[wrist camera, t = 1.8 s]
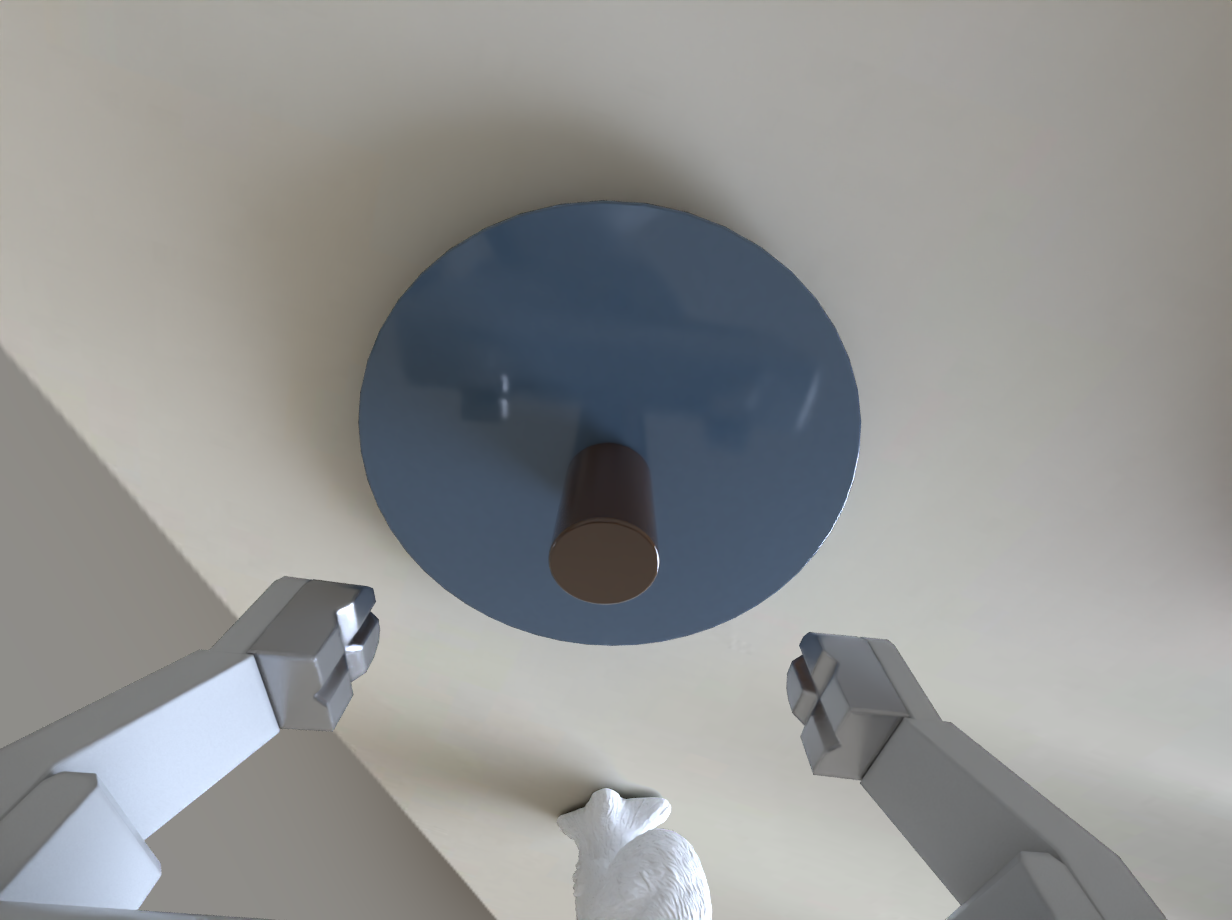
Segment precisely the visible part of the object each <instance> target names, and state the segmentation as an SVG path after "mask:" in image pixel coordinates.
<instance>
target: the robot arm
mask: <svg viewBox="0 0 1232 920" xmlns="http://www.w3.org/2000/svg"><path fill="white" fill-rule="evenodd" d="M375 603H376V600H375V595H374V590H373V588H371V587H368V586H361V585H353V584H346V583H338V582H330V581H323V580H315V579H313V580H311V579H303V578H296V577H288V576H284V577H282V578H280V579H278V580H276V581H274V582H273V583H272V584H271V585H270V586H269V588H268V589H267V590H266V591H265V592H264V593H263V594H262V595H261V596H260V597H259V598H258V599H257V600H256V601H255V602H254V603H253V604H252V605H251V606H250V608H249V609H248V610H247V611H246V612H245V613H244V614H243V615H242V616H241V617H240V618H239V619H238V620H237V621H236V622H235V624H233V625H232V627H231V628H230V629H229V630H228V631H227V632H226V633H225V634H224V635H223V636H222V637H221V638H220V639H219V640H218V641H217V642H216V643H215V645H213V647H212V648H211V649H210V650H197V651H195V652H193V653H191V654H189V655H188V656H186V657H183V658H182V659H180V660H177V661H175V662H173V663H172V664H170V665H167V666H166V667H164V668H161V669H159V670H157V671H155V672H153V673H151V674H149V675H147V676H146V677H143V678H141V679H139V680H137V681H135V682H133V683H131V684H129V685H127V686H125V687H123V688H121V689H119V690H117V691H115V692H113V693H111V694H109V695H107V696H105V697H103V698H101V699H99V700H97V701H95V702H93V703H92V704H90V705H87V706H85V707H83V708H81V709H79V710H77V711H75V712H74V713H71V714H69V715H67V716H65V717H63V718H61V719H59V720H57V721H55V722H53V723H51V724H49V725H47V726H45V727H43V728H41V729H39V730H37V731H35V732H33V733H31V734H29V735H27V736H25V737H23V738H21V739H19V740H17V741H16V742H13V743H11V744H9V745H7V746H5V747H3V748H1V749H0V920H271V919H258V918H243V917H229V916H215V915H201V914H186V913H172V912H157V911H142V910H138V908H139V907H140V906H141V904H142V903H143V901H144V900H145V898H146V897H147V895H148V894H149V892H150V891H151V889H152V888H153V887H154V885H155V884H156V882H157V881H158V879H159V878H160V876H161V864H160V862H159V861H158V859H157V858H156V856H155V855H154V854H153V852H152V851H151V849H150V848H149V847H148V845H147V844H146V842H145V841H144V840H145V839H146V838H148V837H149V836H150V835H151V834H153V833H154V832H155V831H156V830H158V829H159V828H160V827H161V826H163V825H164V824H165V823H166V822H168V821H169V820H170V819H171V818H172V817H174V816H175V815H176V814H178V813H179V812H180V811H181V810H183V809H184V808H185V807H186V806H188V805H189V804H190V803H191V802H193V801H194V800H195V799H196V798H198V797H199V796H200V795H201V794H203V793H204V792H205V791H206V790H208V789H209V788H210V787H211V786H213V785H214V784H215V783H216V782H218V781H219V780H220V779H221V778H223V777H224V776H225V775H226V774H228V773H229V772H230V771H231V770H232V769H234V768H235V767H236V766H237V765H239V764H240V763H241V762H242V761H244V760H245V759H246V758H248V757H249V756H250V755H251V754H252V753H254V752H255V751H256V750H258V749H259V748H260V747H261V746H263V745H264V744H265V743H266V742H268V741H269V740H270V739H271V738H273V737H274V736H275V735H276V734H278V733H279V732H280V729H279V728H281V729H282V728H283V729H298V730H314V731H331V732H333V730H334V729H335V727H336V725H337V723H338V722H339V720H340V718H341V716H342V714H343V713H344V711H345V709H346V707H347V706H348V704H349V702H350V700H351V698H352V697H353V690H352V685H351V682H353V681H354V680H355V679H357V678H358V677H360V676H361V675H363V674H364V673H366V672H367V670H368V668H369V666H370V664H371V662H372V660H373V658H374V656H375V652H376V649H377V646H378V643H379V635H380V625H379V619H378V618H377V617H376V616H375V615H374V614H373V613H372V612H371V609H372V607H373V606H374V604H375ZM799 646H800V649H801V651H802V654H803V655H801V656H800V657H798V658H796V659H795V660H793V661H792V663H791V665H790V668H789V670H788V673H787V685H786V689H787V695H788V701H789V704H790V707H791V710H792V713H793V714H794V715H795V716H796V717H797V718H798V719H799V720H800V721H801V722H802V724H803V725H804V728H803V731H802V734H801V740H802V743H803V746H804V749H805V752H806V755H807V758H808V760H809V763H810V766H811V769H812V772H813V775H820V776H828V777H837V778H845V779H853V780H861V782H860V784H861V785H862V786H863V787H864V789H865V790H866V791H867V792H868V793H869V795H870V796H871V797H872V798H873V799H874V801H875V802H876V803H877V804H878V805H879V807H880V808H881V809H882V810H883V812H884V813H885V814H886V815H887V816H888V818H889V819H890V820H891V821H892V822H893V824H894V825H895V826H896V827H897V828H898V830H899V831H900V832H901V833H902V835H903V836H904V837H905V838H906V839H907V841H908V842H909V843H910V844H911V845H912V847H913V848H914V849H915V850H916V851H917V853H918V854H919V855H920V856H921V857H922V859H923V860H924V861H925V862H926V864H927V865H928V866H929V867H930V868H931V870H932V871H933V872H934V873H935V874H936V876H937V877H938V878H939V879H940V880H941V882H942V883H943V884H944V885H945V886H946V888H947V889H948V890H949V891H950V893H951V894H952V895H953V896H954V897H955V899H956V900H957V901H958V902H959V903H960V905H961V906H960V907H959V908H958V909H956V910H955V911H954V912H953V913H952V914H951V915H950V916H949V917H948V918H946V919H945V920H1168V919H1167V918H1166V917H1165V916H1164V914H1163V913H1162V912H1161V910H1160V909H1159V908H1158V906H1157V905H1156V904H1155V903H1154V901H1153V900H1152V899H1151V897H1150V896H1149V895H1148V893H1147V892H1146V891H1145V889H1144V888H1143V887H1142V886H1141V884H1140V883H1139V882H1138V880H1137V879H1136V878H1135V876H1134V875H1133V874H1132V873H1131V871H1130V870H1129V869H1128V867H1127V866H1126V865H1125V863H1124V862H1123V861H1122V859H1121V858H1120V857H1119V856H1118V855H1117V854H1115V853H1114V852H1113V851H1112V850H1110V849H1109V848H1108V847H1107V846H1105V845H1104V844H1103V843H1102V842H1100V841H1099V840H1098V839H1097V838H1095V837H1094V836H1093V835H1092V834H1090V833H1089V832H1088V831H1086V830H1085V829H1084V828H1083V827H1081V826H1080V825H1079V824H1078V823H1076V822H1075V821H1074V820H1073V819H1071V818H1070V817H1069V816H1068V815H1066V814H1065V813H1064V812H1063V811H1061V810H1060V809H1059V808H1058V807H1056V806H1055V805H1054V804H1053V803H1051V802H1050V801H1049V800H1048V799H1046V798H1045V797H1044V796H1043V795H1041V794H1040V793H1039V792H1038V791H1036V790H1035V789H1034V788H1033V787H1031V786H1030V785H1029V784H1028V783H1026V782H1025V781H1024V780H1023V779H1021V778H1020V777H1019V776H1018V775H1016V774H1015V773H1014V772H1013V771H1011V770H1010V769H1009V768H1008V767H1006V766H1005V765H1004V764H1003V763H1001V762H1000V761H999V760H998V759H996V758H995V757H994V756H993V755H991V754H990V753H989V752H988V751H986V750H985V749H984V748H983V747H981V746H980V745H979V744H978V743H976V742H975V741H974V740H973V739H971V738H970V737H969V736H968V735H966V734H965V733H964V732H963V731H961V730H960V729H959V728H958V727H956V726H955V725H954V724H953V723H951V722H945V721H942V720H941V718H940V716H939V715H938V713H937V712H936V710H935V709H934V707H933V705H932V704H931V702H930V701H929V699H928V697H927V696H926V694H925V693H924V691H923V689H922V688H921V686H920V685H919V683H918V682H917V680H916V678H915V677H914V675H913V674H912V672H911V670H910V669H909V667H908V666H907V664H906V663H905V661H904V659H903V658H902V656H901V655H900V653H899V651H898V650H897V648H896V647H895V645H894V644H892V643H891V642H890V641H889V640H887V639H876V638H866V637H857V636H846V635H835V634H825V633H814V632H809V633H807V634H806V635H805V636H804V637H803V639H802V641H801V643H800V645H799Z"/></svg>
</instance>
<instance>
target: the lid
mask: <svg viewBox="0 0 1232 920" xmlns="http://www.w3.org/2000/svg"><path fill="white" fill-rule="evenodd" d="M358 423H359V435H360V447H361V454H362V458H363V463H364V467H365V471H366V475H367V480H368V482H369V485H370V487H371V490H372V493H373V495H374V498H375V500H376V503H377V505H378V507H379V509H380V511H381V513H382V515H383V516H384V518H385V520H386V522H387V524H388V526H389V527H390V529H391V531H392V532H393V534H394V535H395V536H396V538H397V539H398V541H399V542H400V543H401V545H402V546H403V547H404V549H405V550H406V552H407V553H408V554H409V555H410V556H411V557H412V558H413V559H414V560H415V561H416V563H417V564H418V565H419V566H420V567H421V568H422V569H423V570H424V571H425V572H426V573H427V574H428V575H429V576H430V577H432V578H433V579H434V580H435V581H436V582H437V583H438V584H440V585H441V586H442V587H443V588H444V589H445V590H447V591H448V592H450V593H451V594H453V595H454V596H455V597H457V598H458V599H460V600H461V601H463V602H464V603H465V604H467V605H469V606H471V607H472V608H474V609H476V610H478V611H479V612H481V613H483V614H485V615H487V616H488V617H491V618H493V619H495V620H497V621H500V622H502V623H504V624H506V625H509V626H511V627H514V628H517V629H520V630H523V631H526V632H529V633H532V634H535V635H538V636H542V637H547V638H551V639H555V640H559V641H565V642H572V643H580V644H587V645H607V646H618V645H639V644H647V643H655V642H662V641H667V640H671V639H676V638H680V637H685V636H688V635H692V634H695V633H698V632H701V631H704V630H707V629H710V628H713V627H715V626H717V625H720V624H722V623H724V622H726V621H729V620H731V619H733V618H736V617H737V616H739V615H741V614H743V613H744V612H746V611H748V610H750V609H752V608H753V607H755V606H757V605H759V604H760V603H761V602H763V601H764V600H766V599H767V598H768V597H770V596H771V595H773V594H774V593H775V592H777V591H778V590H780V589H781V588H782V587H783V586H784V585H785V584H786V583H787V582H789V581H790V580H791V579H792V578H793V577H794V576H795V575H796V574H798V573H799V572H800V570H801V569H802V568H803V567H804V566H805V565H806V564H807V563H808V562H809V560H810V559H811V558H812V557H813V556H814V555H815V554H816V553H817V551H818V550H819V548H820V547H821V545H822V544H823V542H824V541H825V540H826V538H827V537H828V535H829V534H830V532H831V531H832V529H833V527H834V525H835V523H836V521H837V520H838V518H839V516H840V514H841V512H842V510H843V508H844V506H845V503H846V500H847V498H848V495H849V492H850V489H851V486H852V483H853V481H854V477H855V472H856V467H857V462H858V457H859V452H860V433H861V416H860V406H859V397H858V389H857V385H856V381H855V378H854V374H853V370H852V367H851V363H850V359H849V357H848V354H847V352H846V350H845V348H844V346H843V343H842V341H841V339H840V337H839V334H838V332H837V330H836V328H835V326H834V325H833V323H832V322H831V320H830V319H829V317H828V316H827V314H826V313H825V311H824V310H823V308H822V307H821V305H820V303H819V302H818V300H817V299H816V298H815V297H814V295H813V294H812V293H811V292H810V291H809V290H808V289H807V288H806V287H805V286H804V285H803V283H802V282H801V281H800V280H799V279H798V278H797V277H796V276H795V275H794V274H793V273H792V271H791V270H789V269H788V268H787V267H785V266H784V265H783V264H782V263H780V262H779V261H778V260H777V259H775V258H774V257H773V256H772V255H770V254H769V253H768V252H767V251H765V250H764V249H763V248H762V247H760V246H758V245H757V244H755V243H753V242H751V241H750V240H748V239H746V238H744V237H743V236H741V235H739V234H737V233H736V232H734V231H732V230H730V229H729V228H727V227H725V226H722V225H720V224H717V223H714V222H712V221H709V220H707V219H704V218H701V217H699V216H696V215H694V214H691V213H688V212H685V211H680V210H675V209H671V208H666V207H662V206H657V205H653V204H648V203H638V202H622V201H607V200H601V201H589V202H577V203H565V204H558V205H554V206H550V207H546V208H542V209H538V210H533V211H529V212H525V213H521V214H518V215H516V216H514V217H511V218H509V219H506V220H504V221H501V222H499V223H496V224H494V225H492V226H489V227H487V228H484V229H482V230H481V231H479V232H477V233H476V234H474V235H472V236H471V237H469V238H467V239H466V240H464V241H462V242H461V243H459V244H457V245H456V246H454V247H452V248H451V249H449V250H448V251H447V252H446V253H445V254H443V255H442V256H441V257H440V258H439V259H438V260H436V261H435V262H434V263H433V264H432V265H430V266H429V267H428V268H427V269H426V270H425V271H423V272H422V273H421V274H420V275H419V276H418V278H417V279H416V280H415V281H414V282H413V283H412V285H411V286H410V287H409V288H408V289H407V290H406V292H405V293H404V294H403V295H402V296H401V297H400V299H399V300H398V301H397V303H396V304H395V306H394V308H393V309H392V311H391V313H390V314H389V316H388V317H387V319H386V321H385V322H384V324H383V326H382V327H381V329H380V331H379V333H378V336H377V338H376V341H375V343H374V346H373V348H372V351H371V353H370V356H369V358H368V361H367V365H366V369H365V374H364V378H363V383H362V387H361V392H360V406H359V421H358Z"/></svg>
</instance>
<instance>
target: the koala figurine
mask: <svg viewBox="0 0 1232 920" xmlns="http://www.w3.org/2000/svg"><path fill="white" fill-rule="evenodd" d="M670 812H671V806H670V804H669V802H668V801H667V800H665V799H664V798H657V797H647V798H645V797H643V798H641V797H638V798H629V799H624V798H621V797H620V796H619V794H618V793H617V792H616V791H614V790H612V789H609V788H603V789H600V790H598V791H596V792H594V793H593V794H592V796H591V798H590V800H589V802H588V803H587V804H586V806H585V807H584V808H580V809H578V810H575V811H574V812H570V813H567V814H564V815H560V816H559V817H558V818H557V825H558V826H559V827H560V829H561V830H562V832H563V833H564V834H565V835H567V836H568V837H569V838H571V839H573V840H574V841H575V843H576V845H577V847H578V850H579V856H578V857H579V860H578V863H577V864H576V869H577V870H576V871H575V873H574V874H573V882H574V883H575V884H574V887H573V889H574V893H573V895H574V896H575V897H576V898H575V904H576V908H575V910H576V917H577V920H711V912H712V907H711V903H710V892H709V887H708V885H707V881H706V878H705V874H704V871H703V869H702V866H701V863H700V859H699V857H698V856H697V854H696V853H695V852H694V849H693V847H692V845H690V843H689V842H688V841H687V840H686V839H685V838H684V837H682V836H681V835H680V834H678V833H676V832H675V831H673V830H668V829H664V828H660V829H659V828H655V827H656V826H657V825H659V824H661V823H663V822H664V821H665V820H666V819H667V817H668V815H669V814H670Z"/></svg>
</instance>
